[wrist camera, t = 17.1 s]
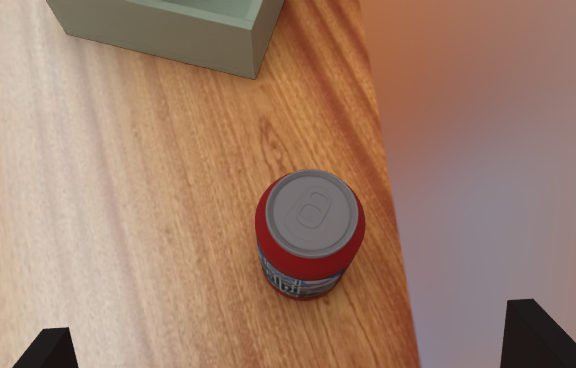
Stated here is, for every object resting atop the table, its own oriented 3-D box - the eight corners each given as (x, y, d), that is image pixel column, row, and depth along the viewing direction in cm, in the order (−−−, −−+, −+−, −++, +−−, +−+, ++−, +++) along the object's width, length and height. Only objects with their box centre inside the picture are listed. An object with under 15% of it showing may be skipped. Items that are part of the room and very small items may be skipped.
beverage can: (245, 277, 37) (230, 233, 25) (285, 207, 39) (288, 140, 28) (320, 318, 35) (339, 292, 24) (357, 244, 38) (389, 189, 27)
